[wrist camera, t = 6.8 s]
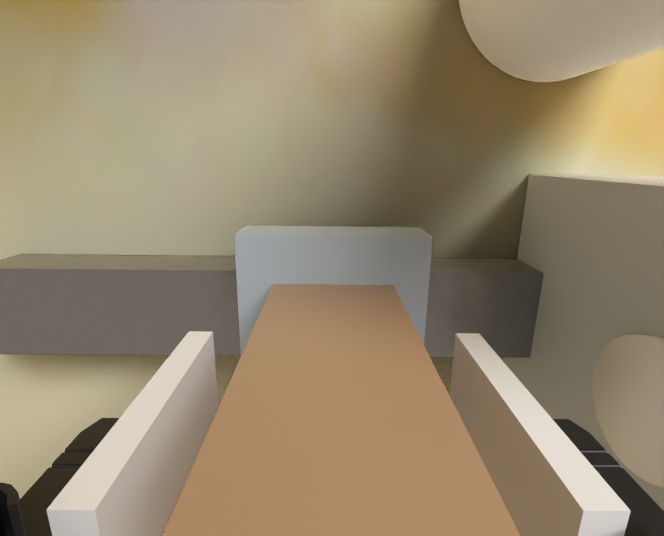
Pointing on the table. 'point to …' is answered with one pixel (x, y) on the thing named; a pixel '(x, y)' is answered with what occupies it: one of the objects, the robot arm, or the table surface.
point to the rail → (226, 304)
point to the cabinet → (600, 313)
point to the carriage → (336, 400)
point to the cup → (562, 34)
